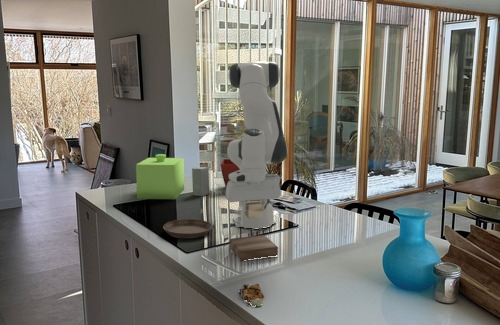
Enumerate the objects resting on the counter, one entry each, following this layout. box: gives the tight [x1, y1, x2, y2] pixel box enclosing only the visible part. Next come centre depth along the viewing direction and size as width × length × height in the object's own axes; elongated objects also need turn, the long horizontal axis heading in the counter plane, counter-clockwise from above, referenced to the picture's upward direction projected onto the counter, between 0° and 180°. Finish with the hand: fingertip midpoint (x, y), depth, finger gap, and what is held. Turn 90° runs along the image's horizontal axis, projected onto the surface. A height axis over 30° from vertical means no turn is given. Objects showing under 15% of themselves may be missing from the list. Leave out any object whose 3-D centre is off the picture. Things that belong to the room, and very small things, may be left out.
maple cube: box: [245, 201, 262, 218], centre depth 166 cm, size 5×5×5 cm
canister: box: [135, 153, 185, 200], centre depth 261 cm, size 25×21×23 cm
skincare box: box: [191, 166, 210, 197], centre depth 260 cm, size 8×7×16 cm
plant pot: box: [220, 158, 240, 188], centre depth 276 cm, size 19×19×17 cm
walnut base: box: [229, 234, 279, 262], centre depth 168 cm, size 14×14×4 cm
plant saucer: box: [162, 218, 213, 239], centre depth 192 cm, size 21×21×3 cm
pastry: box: [239, 282, 265, 308], centre depth 132 cm, size 7×12×4 cm, turn 19°
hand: (253, 211), depth 166 cm, fingers closed on maple cube, 5 cm apart
